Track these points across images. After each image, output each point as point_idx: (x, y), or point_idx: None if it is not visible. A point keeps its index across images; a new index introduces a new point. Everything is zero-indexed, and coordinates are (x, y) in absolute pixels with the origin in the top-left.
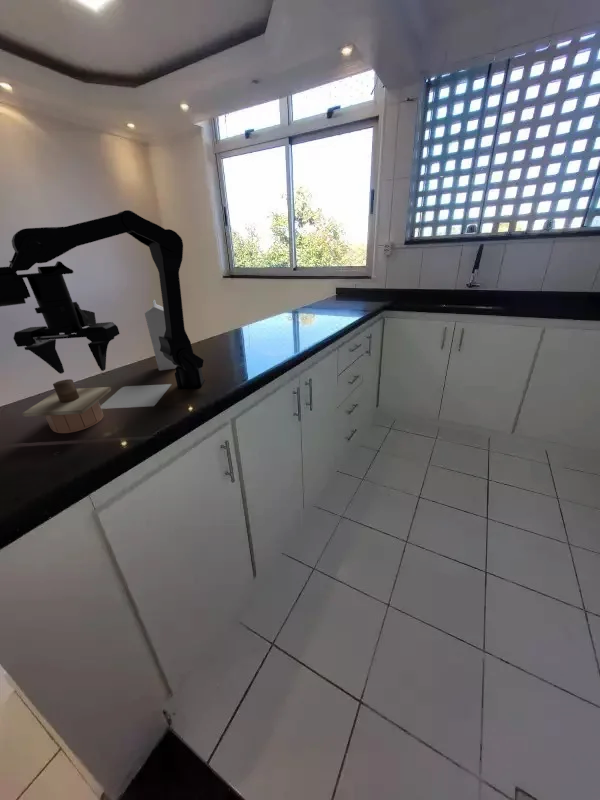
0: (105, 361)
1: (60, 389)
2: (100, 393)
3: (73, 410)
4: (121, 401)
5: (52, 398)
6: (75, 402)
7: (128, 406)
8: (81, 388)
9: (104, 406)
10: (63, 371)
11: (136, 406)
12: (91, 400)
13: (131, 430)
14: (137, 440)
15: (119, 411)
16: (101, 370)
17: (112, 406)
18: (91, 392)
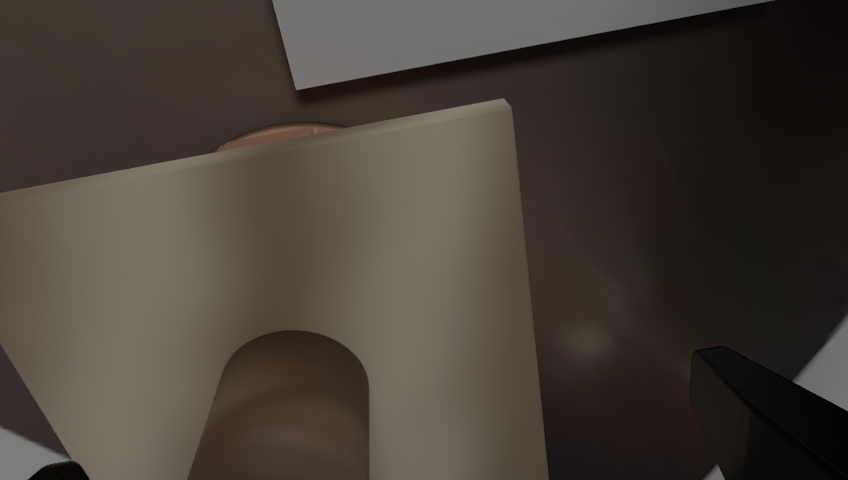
0: (845, 426)
1: None
2: (509, 271)
3: None
4: None
5: (111, 397)
6: (407, 430)
7: (554, 21)
8: (177, 175)
9: (329, 38)
10: (75, 477)
11: (628, 18)
12: (522, 392)
13: (708, 297)
14: (776, 371)
15: (491, 74)
16: (695, 409)
17: (404, 31)
18: (394, 259)
